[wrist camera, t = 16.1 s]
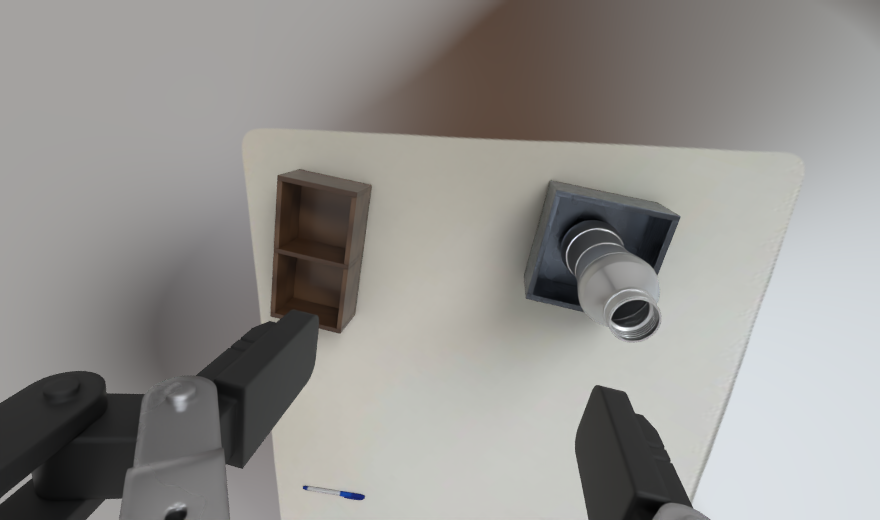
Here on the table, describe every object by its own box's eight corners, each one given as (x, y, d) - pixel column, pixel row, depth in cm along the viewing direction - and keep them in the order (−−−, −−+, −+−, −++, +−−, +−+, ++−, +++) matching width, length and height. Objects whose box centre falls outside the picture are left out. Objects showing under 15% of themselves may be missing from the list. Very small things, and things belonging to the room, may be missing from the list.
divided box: (299, 169, 53) (277, 175, 48) (371, 185, 52) (357, 192, 47) (290, 299, 59) (270, 316, 54) (355, 314, 58) (340, 333, 53)
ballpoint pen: (365, 492, 69) (363, 497, 68) (365, 497, 69) (363, 502, 68) (304, 484, 71) (301, 489, 70) (304, 488, 71) (301, 493, 70)
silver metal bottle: (546, 245, 50) (568, 323, 32) (588, 203, 48) (639, 260, 29) (585, 280, 51) (630, 376, 32) (629, 240, 49) (705, 318, 30)
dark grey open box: (550, 180, 49) (556, 189, 42) (658, 202, 48) (681, 216, 41) (523, 276, 53) (525, 298, 47) (622, 299, 52) (637, 324, 46)
